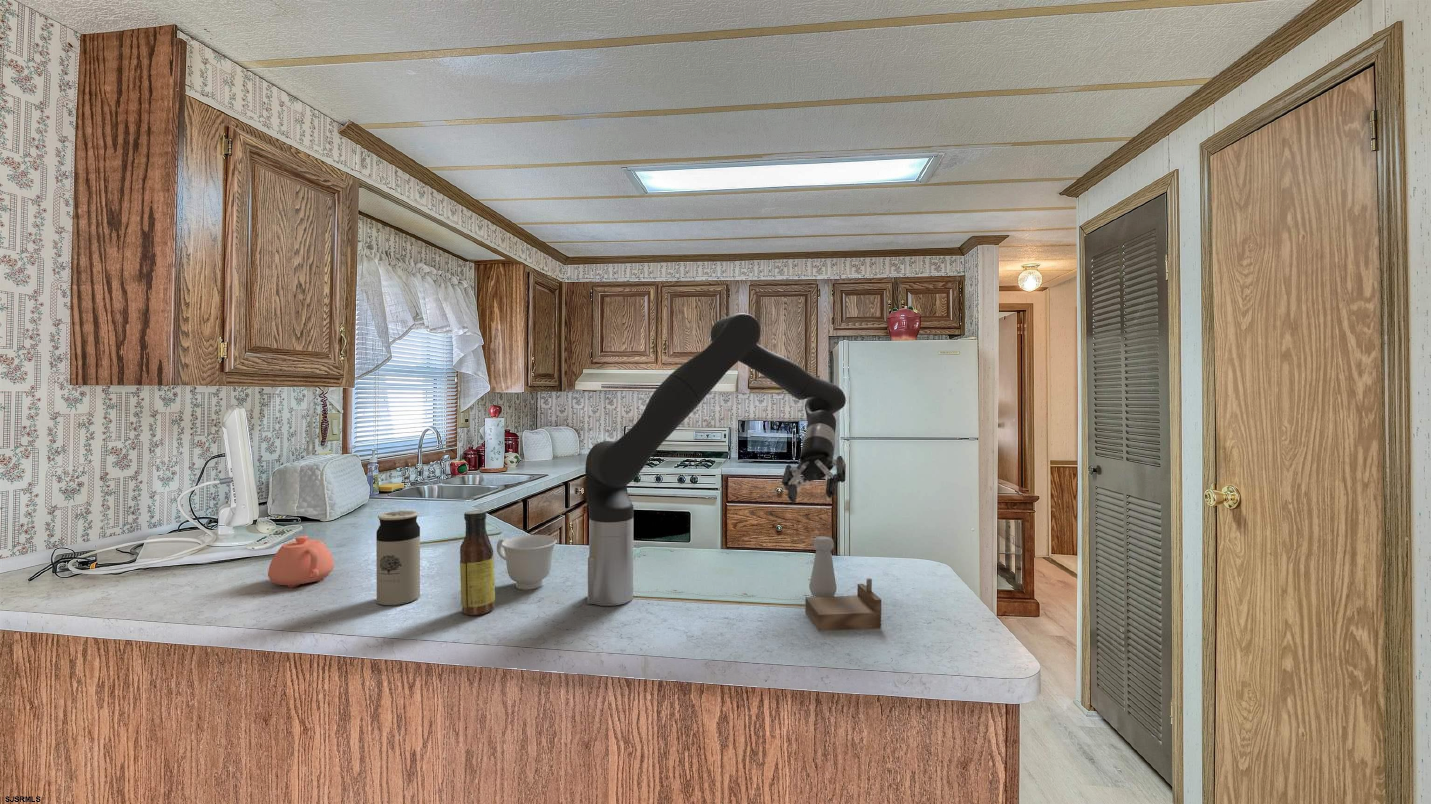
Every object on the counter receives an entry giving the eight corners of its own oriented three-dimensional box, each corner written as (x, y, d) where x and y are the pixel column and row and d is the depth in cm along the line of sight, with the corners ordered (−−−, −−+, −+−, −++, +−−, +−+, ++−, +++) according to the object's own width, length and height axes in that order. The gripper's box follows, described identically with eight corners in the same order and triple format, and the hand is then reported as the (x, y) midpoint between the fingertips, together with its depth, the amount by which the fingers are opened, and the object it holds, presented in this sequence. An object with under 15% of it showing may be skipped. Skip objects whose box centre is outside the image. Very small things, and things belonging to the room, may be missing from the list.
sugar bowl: (321, 569, 140) (321, 527, 140) (346, 580, 132) (346, 536, 132) (259, 582, 130) (259, 537, 130) (282, 596, 122) (282, 548, 122)
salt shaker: (820, 604, 120) (820, 542, 120) (803, 595, 125) (804, 536, 125) (842, 600, 123) (843, 539, 122) (825, 591, 128) (825, 533, 127)
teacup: (515, 572, 139) (515, 531, 139) (567, 580, 133) (567, 537, 133) (478, 588, 128) (478, 543, 127) (533, 598, 122) (533, 551, 122)
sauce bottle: (501, 607, 117) (501, 509, 116) (479, 618, 111) (479, 516, 110) (475, 603, 119) (475, 507, 119) (452, 614, 113) (452, 513, 113)
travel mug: (396, 591, 125) (396, 509, 125) (428, 594, 124) (428, 511, 123) (367, 604, 117) (366, 516, 117) (401, 608, 116) (400, 519, 116)
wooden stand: (818, 631, 107) (819, 589, 106) (805, 612, 116) (805, 573, 115) (881, 628, 108) (881, 586, 108) (862, 610, 117) (863, 571, 117)
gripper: (784, 440, 139) (773, 491, 127) (841, 429, 132) (835, 481, 120) (796, 462, 142) (786, 513, 130) (852, 452, 136) (847, 505, 124)
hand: (810, 497), depth 125 cm, fingers open, 8 cm apart
